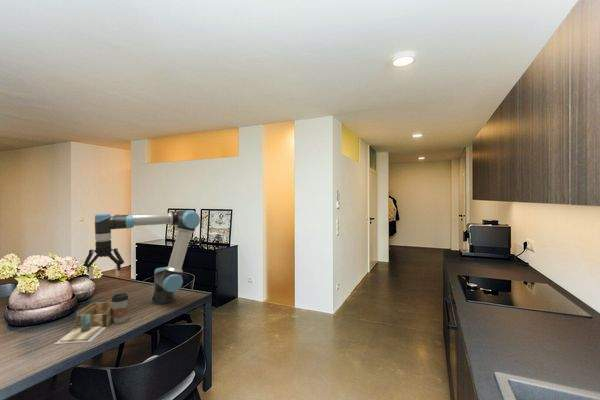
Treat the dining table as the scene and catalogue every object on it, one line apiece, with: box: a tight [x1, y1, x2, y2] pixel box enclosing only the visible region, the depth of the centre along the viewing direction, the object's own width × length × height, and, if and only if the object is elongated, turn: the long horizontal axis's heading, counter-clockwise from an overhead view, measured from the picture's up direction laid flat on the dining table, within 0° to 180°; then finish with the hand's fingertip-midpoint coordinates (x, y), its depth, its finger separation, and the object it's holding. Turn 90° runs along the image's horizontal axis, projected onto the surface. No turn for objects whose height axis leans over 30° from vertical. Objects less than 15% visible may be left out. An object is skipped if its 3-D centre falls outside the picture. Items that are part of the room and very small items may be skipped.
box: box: [75, 301, 114, 329], centre depth 164 cm, size 15×16×8 cm
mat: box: [53, 326, 108, 345], centre depth 148 cm, size 16×16×1 cm
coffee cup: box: [110, 293, 129, 325], centre depth 165 cm, size 8×8×15 cm
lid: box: [59, 314, 102, 342], centre depth 148 cm, size 12×14×9 cm
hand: (104, 277), depth 165 cm, fingers open, 13 cm apart
